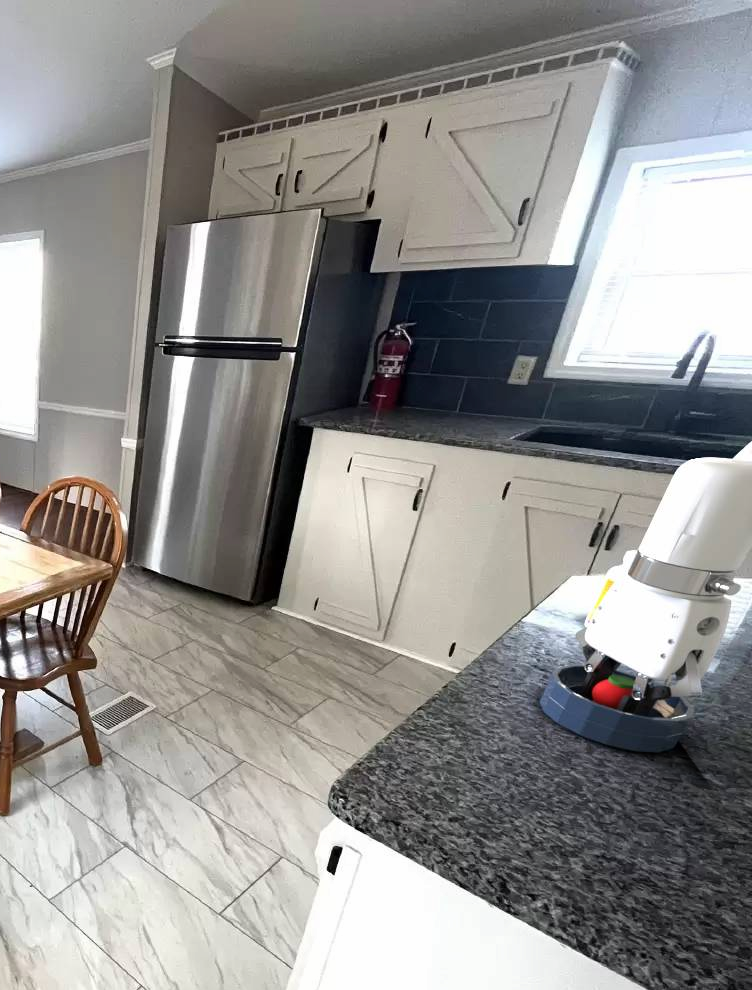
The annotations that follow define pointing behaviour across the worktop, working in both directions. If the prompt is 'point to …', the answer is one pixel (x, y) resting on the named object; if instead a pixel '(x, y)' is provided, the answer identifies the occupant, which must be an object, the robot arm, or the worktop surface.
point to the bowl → (613, 714)
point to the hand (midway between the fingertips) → (607, 711)
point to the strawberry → (612, 691)
